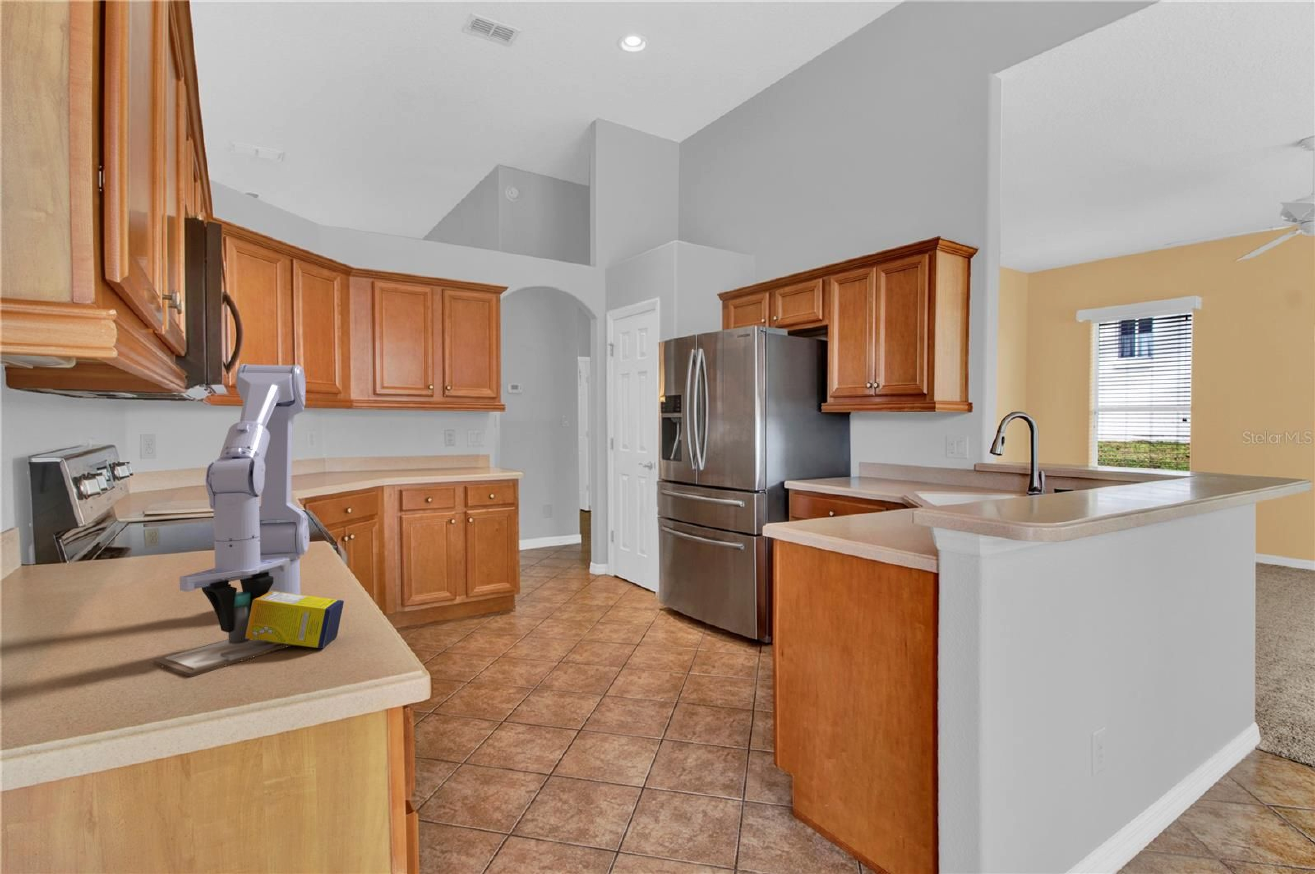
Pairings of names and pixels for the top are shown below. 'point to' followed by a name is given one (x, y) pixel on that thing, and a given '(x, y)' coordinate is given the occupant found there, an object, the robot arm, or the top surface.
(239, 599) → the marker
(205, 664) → the clipboard
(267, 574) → the robot arm
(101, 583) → the top surface
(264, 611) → the supplement box
